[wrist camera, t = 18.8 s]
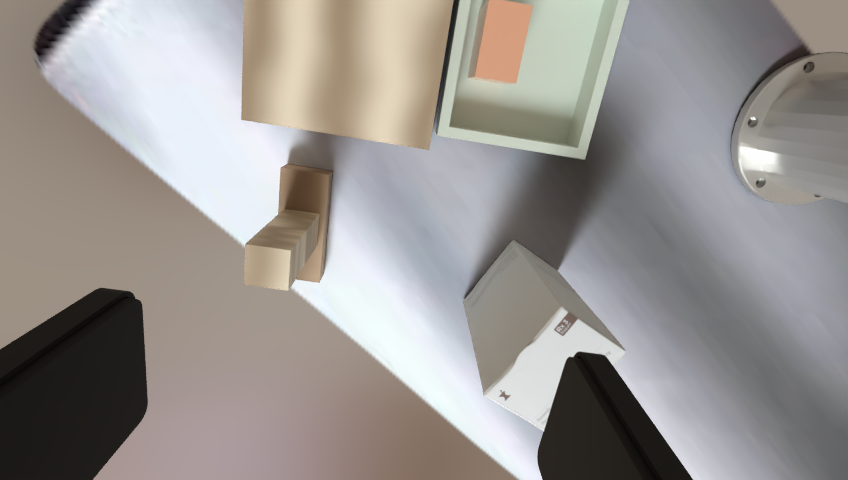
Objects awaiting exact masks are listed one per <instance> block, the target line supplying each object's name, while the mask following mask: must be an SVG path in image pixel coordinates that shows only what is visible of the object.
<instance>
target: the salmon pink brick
mask: <svg viewBox="0 0 848 480" xmlns="http://www.w3.org/2000/svg"><path fill="white" fill-rule="evenodd" d="M532 8H533V6H532V5H527V4H521V3H516V2H510V1H505V0H487V1H486V3H485V4H484V5H483V6H482V8H481V9H480V10H479V15H478V20H477V26H476V32H475V37H474V43H473V48H472V54H471V60H470V65H469V71H468V77H467V78H470V79H476V80H481V81H487V82H493V83H499V84H516V83H517V78H518V73H519V69H520V64H521V59H522V55H523V50H524V45H525V41H526V36H527V31H528V27H529V22H530V17H531V13H532Z"/></svg>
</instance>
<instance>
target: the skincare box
mask: <svg viewBox="0 0 848 480" xmlns="http://www.w3.org/2000/svg"><path fill="white" fill-rule="evenodd" d="M463 304H464V308H465V313H466V317H467V321H468V325H469V330H470V334H471V339H472V343H473V348H474V352H475V357H476V361H477V365H478V370H479V374H480V379H481V383H482V388H483V395H484V396H485V397H487V398H489V399H491V400H493V401H494V402H496V403H497V404H499V405H501V406H502V407H504V408H506V409H507V410H509V411H511V412H513V413H514V414H516V415H518V416H519V417H521V418H523V419H525V420H526V421H528V422H530V423H531V424H533V425H534V426H536V427H537V428H539V429H541V430H542V431H544V429H545V426H546V423H547V419H548V416H549V413H550V410H551V407H552V403H553V400H554V397H555V394H556V391H557V387H558V384H559V381H560V378H561V374H562V371H563V368H564V365H565V362H566V360H567V358H568V357H574V355H575V354H576V353H577V352H579V351H580V352H588V353H595V354H602V355H605V356H606V357H607V358H608V360H609V361H610V362H611V364H612V365H613V366H614V365H615V364H616V363H617V362H618V360H619V359H620V358H621V357H622V356H623V355H624V354H625V353H626V350H625V349H624V348H623V347H622V345H621V344H620V343H619V342H618V341H617V339H616V338H615V337H614V336H613V335H612V334H611V332H610V331H609V330H608V329H607V327H606V326H605V325H604V324H603V323H602V321H601V320H600V319H599V318H598V317H597V316H596V315H595V314H594V313H593V311H592V310H591V309H590V308H589V307H588V306H587V304H586V303H585V302H584V301H583V300H582V299H581V297H580V296H579V295H578V294H577V293H576V291H575V290H574V289H573V288H572V287H571V286H570V285H569V283H568V282H567V281H566V280H565V279H564V278H563V276H562V275H561V274H560V273H559V272H558V271H557V270H556V269H554V268H553V267H551V266H550V265H549V264H547V263H546V262H544V261H543V260H542V259H540V258H539V257H537V256H536V255H535V254H533V253H532V252H530V251H529V250H528V249H526V248H525V247H523V246H522V245H521V244H519V243H518V242H516V241H515V240H512V241H511V242H510V244H509V245H508V246H507V247H506V248H505V250H504V251H503V252H502V253H501V255H500V256H499V257H498V258H497V259H496V261H495V262H494V263H493V264H492V266H491V267H490V268H489V269H488V270H487V272H486V273H485V274H484V275H483V277H482V278H481V279H480V280H479V282H478V283H477V284H476V286H475V287H474V288H473V290H472V291H471V292H470V294H469V295H468V296H467V297H466V298H465V299H464V301H463Z"/></svg>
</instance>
